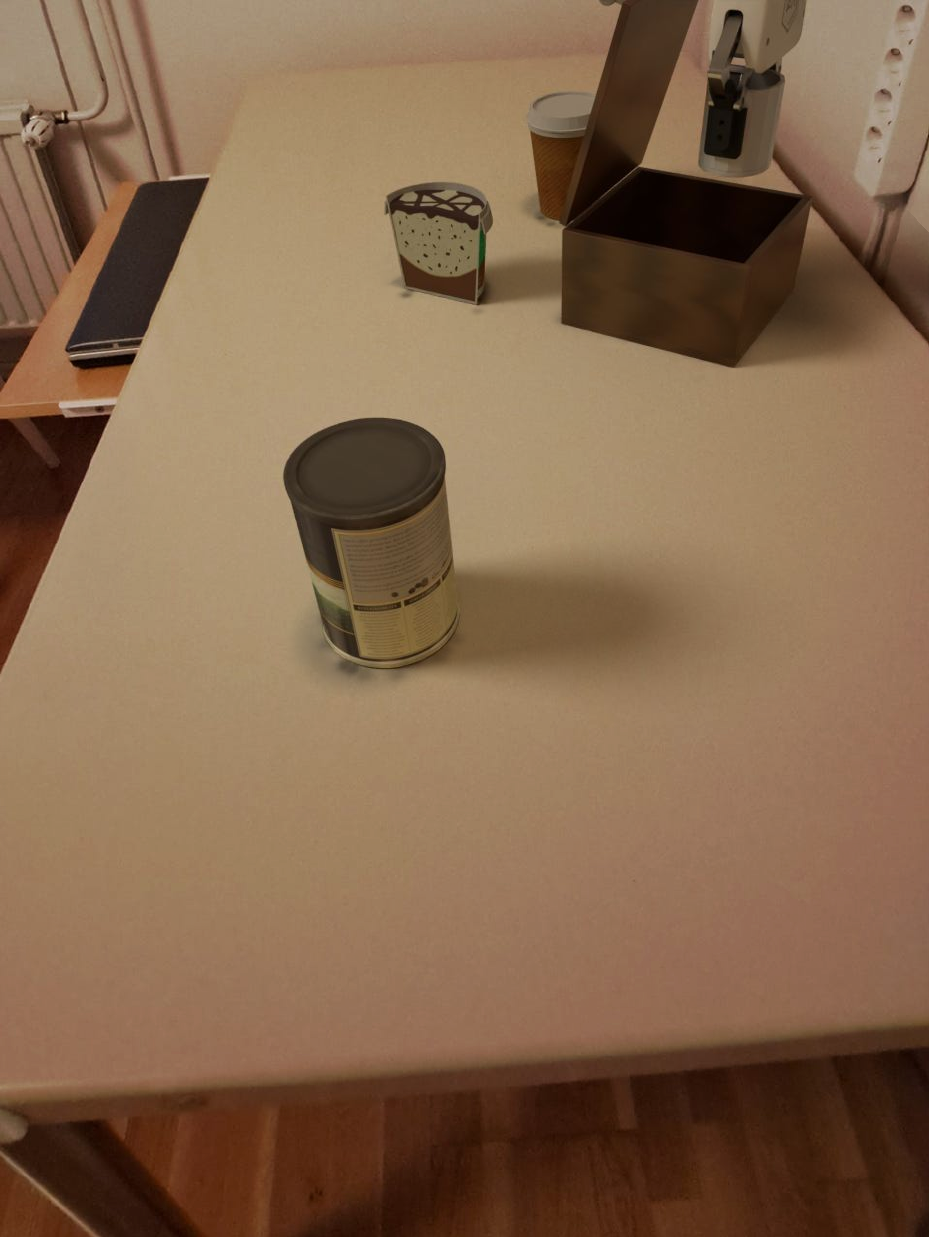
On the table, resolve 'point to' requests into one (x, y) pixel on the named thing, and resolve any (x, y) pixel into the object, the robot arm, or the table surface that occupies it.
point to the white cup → (750, 128)
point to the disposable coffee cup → (557, 143)
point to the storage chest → (683, 262)
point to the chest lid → (628, 96)
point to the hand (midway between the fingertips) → (737, 139)
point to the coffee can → (376, 538)
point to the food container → (441, 238)
